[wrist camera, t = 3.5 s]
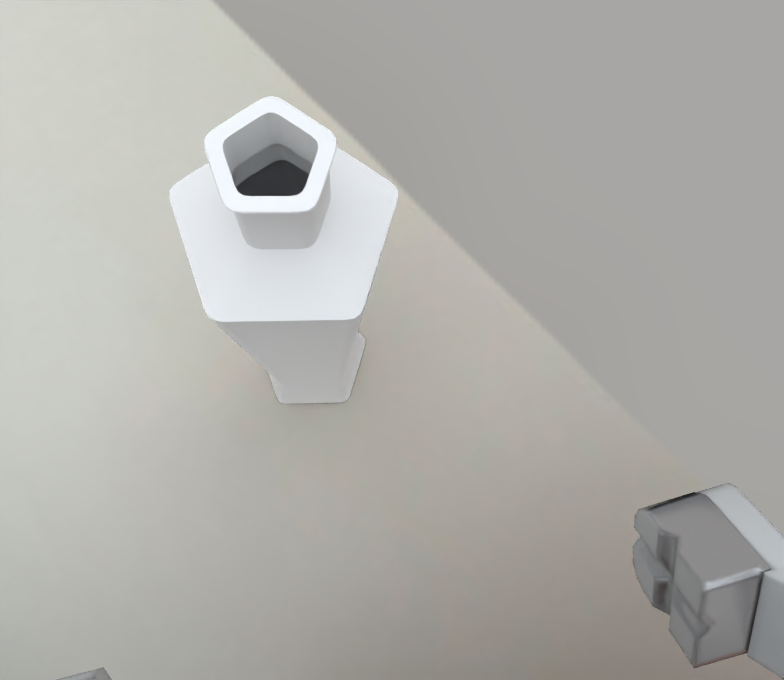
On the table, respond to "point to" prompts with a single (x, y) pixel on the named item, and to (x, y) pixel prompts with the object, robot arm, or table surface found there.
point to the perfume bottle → (286, 245)
